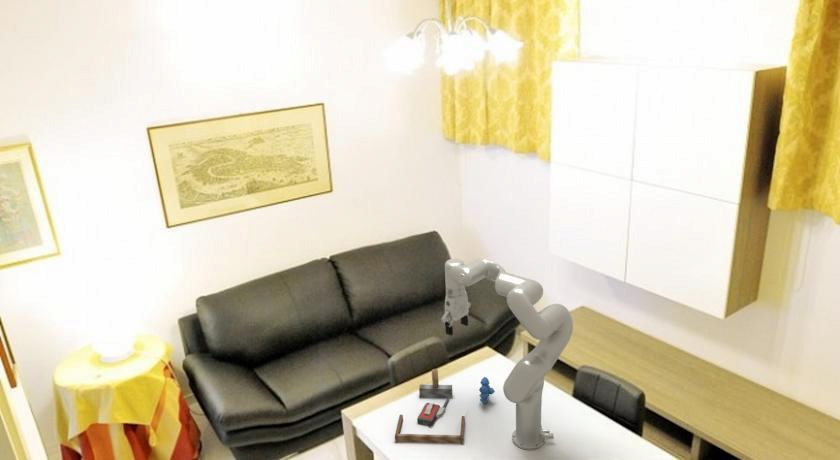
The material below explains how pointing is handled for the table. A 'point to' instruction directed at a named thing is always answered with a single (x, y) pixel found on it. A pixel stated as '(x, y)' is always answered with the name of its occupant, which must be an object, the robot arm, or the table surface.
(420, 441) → the dock
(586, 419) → the table surface
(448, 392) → the scraper
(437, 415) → the walkie-talkie
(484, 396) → the grapes
